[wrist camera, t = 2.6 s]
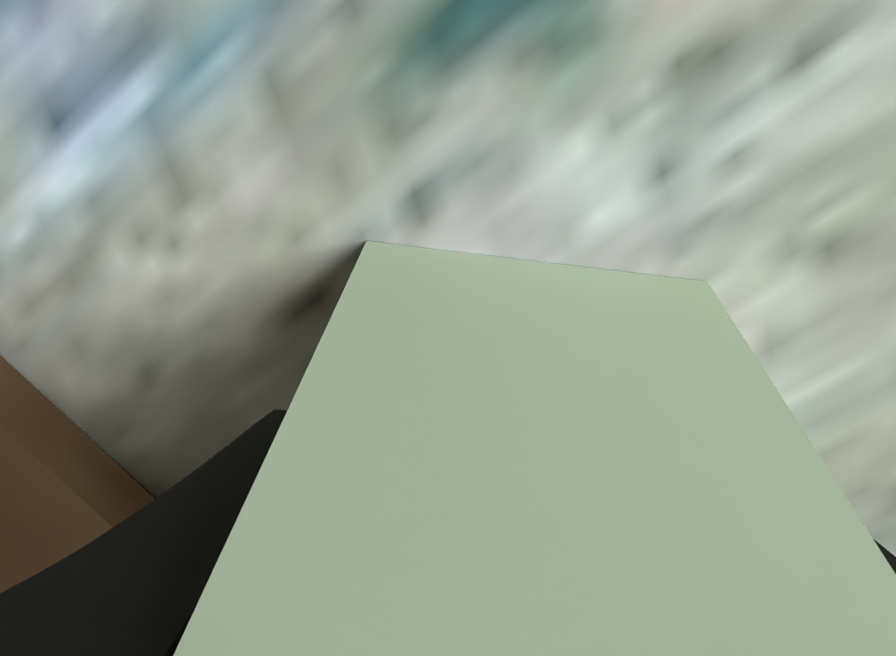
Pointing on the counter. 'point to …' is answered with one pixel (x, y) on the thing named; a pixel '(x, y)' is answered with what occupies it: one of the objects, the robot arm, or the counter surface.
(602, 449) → the sage plug
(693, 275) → the counter surface
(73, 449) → the walnut board
